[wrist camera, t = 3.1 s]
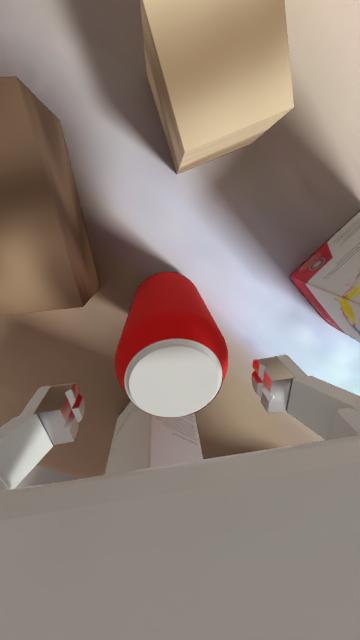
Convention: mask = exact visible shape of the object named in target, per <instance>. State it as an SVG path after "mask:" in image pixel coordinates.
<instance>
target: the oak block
mask: <svg viewBox="0 0 360 640" xmlns="http://www.w3.org/2000/svg"><path fill="white" fill-rule="evenodd" d="M140 8H141V19H142V30H143V42H144V53H145V64H146V74H147V77H148V81H149V84H150V87H151V90H152V94H153V97H154V100H155V104H156V107H157V110H158V114H159V117H160V120H161V124H162V127H163V130H164V134H165V137H166V140H167V144H168V147H169V150H170V154H171V157H172V160H173V164H174V167H175V170H176V173H177V174H179V173H182V172H184V171H186V170H189V169H191V168H194V167H196V166H199V165H201V164H204V163H206V162H209V161H211V160H213V159H216V158H218V157H221V156H223V155H226V154H228V153H231V152H233V151H236V150H238V149H240V148H243V147H245V146H248V145H250V144H251V143H253V142H254V141H255V140H256V139H257V138H258V137H260V136H261V135H262V134H263V133H264V132H265V131H267V130H268V129H269V128H270V127H271V126H272V125H274V124H275V123H276V122H277V121H278V120H279V119H281V118H282V117H283V116H284V115H285V114H286V113H288V112H289V111H290V110H291V109H292V108H293V107H294V101H293V90H292V79H291V68H290V57H289V46H288V35H287V24H286V13H285V2H284V0H140Z"/></svg>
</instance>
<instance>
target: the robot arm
mask: <svg viewBox="0 0 360 640" xmlns="http://www.w3.org/2000/svg"><path fill="white" fill-rule="evenodd" d="M253 368H254V370H255V371H254V372H253V373H252V384H253V388H254V390H255V392H256V394H257V395H259V396H261V403H262V404H263V406H264V408H265V409H266V411H267V413H274V412H283V411H287V413H289V414H290V415H292V416H293V417H294V418H296V419H297V420H299V421H300V422H301V423H303V424H304V425H306V426H307V427H308V428H310V429H311V430H313V431H314V432H315V433H317V434H318V435H320V436H321V437H322V438H324V439H325V441H318V442H312V443H305V444H299V445H293V446H286V447H280V448H273V449H267V450H260V451H254V452H248V453H241V454H235V455H228V456H222V457H216V458H209V459H203V460H196V461H190V462H184V463H177V464H171V465H164V466H158V467H152V468H145V469H139V470H132V471H126V472H119V473H113V474H107V475H100V476H94V477H87V478H81V479H75V480H69V481H62V482H55V483H49V484H43V485H36V486H30V487H24V488H17V489H15V488H16V486H17V485H18V484H19V483H20V482H21V481H22V480H23V479H24V478H25V477H26V475H27V474H28V473H29V472H30V471H31V470H32V469H33V468H34V467H35V466H36V465H37V463H38V462H39V461H40V460H41V459H42V458H43V457H44V456H45V455H46V454H47V453H48V451H49V450H50V449H51V448H52V447H53V445H57V444H63V443H68V442H74V441H75V438H76V435H77V433H78V430H79V425H78V422H80V421H81V420H82V419H83V416H84V413H85V401H84V398H83V397H82V396H81V395H80V394H79V391H80V387H79V385H78V384H77V383H68V384H58V385H50V386H42V387H40V388H38V390H37V391H36V393H35V394H34V395H33V397H32V398H31V400H30V401H29V403H28V404H27V405H26V407H25V408H24V410H23V411H22V413H21V414H20V415H19V416H16V417H14V418H12V419H11V420H10V421H8V422H7V423H5V424H4V425H2V426H1V427H0V640H360V396H358V395H356V394H353V393H351V392H348V391H346V390H344V389H341V388H339V387H336V386H334V385H332V384H329V383H327V382H325V381H322V380H320V379H317V378H315V377H313V376H307V375H306V374H305V373H304V372H303V371H302V370H301V369H300V368H299V367H298V366H297V365H296V364H295V363H294V362H293V361H292V360H291V359H290V358H289V357H288V356H287V355H280V356H275V357H269V358H261V359H254V361H253Z"/></svg>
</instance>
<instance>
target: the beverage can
mask: <svg viewBox="0 0 360 640" xmlns="http://www.w3.org/2000/svg"><path fill="white" fill-rule="evenodd" d="M227 367H228V350H227V346H226V343H225V340H224V338H223V336H222V334H221V332H220V330H219V328H218V327H217V325H216V323H215V321H214V319H213V318H212V316H211V314H210V312H209V310H208V309H207V307H206V305H205V303H204V301H203V299H202V298H201V296H200V294H199V292H198V290H197V289H196V287H195V285H194V284H193V283H192V282H191V281H190V280H189V279H188V278H186V277H185V276H183V275H180V274H178V273H173V272H162V273H157V274H155V275H152V276H150V277H149V278H147V279H146V280H145V281H144V282H143V283H142V284H141V285H140V286H139V288H138V289H137V291H136V294H135V297H134V300H133V303H132V306H131V309H130V311H129V314H128V317H127V320H126V323H125V326H124V329H123V332H122V335H121V338H120V341H119V344H118V347H117V351H116V357H115V368H116V374H117V378H118V381H119V383H120V385H121V387H122V389H123V390H124V392H125V393H126V395H127V396H128V398H129V399H130V400H131V402H132V403H133V404H134V405H135V406H136V407H137V408H139V409H140V410H142V411H143V412H145V413H148V414H150V415H153V416H157V417H162V418H177V417H183V416H187V415H190V414H193V413H195V412H197V411H199V410H201V409H203V408H204V407H206V406H207V405H208V404H209V403H210V402H211V401H212V400H213V399H214V398H215V397H216V395H217V394H218V392H219V390H220V388H221V385H222V383H223V380H224V378H225V375H226V372H227Z"/></svg>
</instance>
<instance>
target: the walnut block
mask: <svg viewBox="0 0 360 640" xmlns="http://www.w3.org/2000/svg"><path fill="white" fill-rule="evenodd" d="M99 288H100V284H99V280H98V276H97V272H96V268H95V264H94V260H93V256H92V252H91V247H90V243H89V239H88V235H87V231H86V227H85V223H84V219H83V215H82V210H81V206H80V202H79V198H78V194H77V190H76V186H75V182H74V178H73V173H72V169H71V165H70V161H69V157H68V153H67V149H66V145H65V141H64V136H63V132H62V128H61V124H60V120H59V119H58V118H57V117H56V116H55V115H54V114H53V113H52V112H51V111H50V110H49V109H48V108H47V107H46V106H45V105H44V104H43V103H42V102H41V101H40V100H39V99H38V98H37V97H36V96H35V95H34V94H33V93H32V92H31V91H30V90H29V89H28V88H27V87H26V86H25V85H24V84H23V83H22V82H21V81H20V80H19V79H18V78H17V77H0V315H10V314H19V313H29V312H38V311H48V310H58V309H67V308H77V307H83V306H84V305H85V304H86V303H87V302H88V301H89V299H90V298H91V297H92V296H93V295H94V294H95V293H96V292H97V291H98V290H99Z"/></svg>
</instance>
